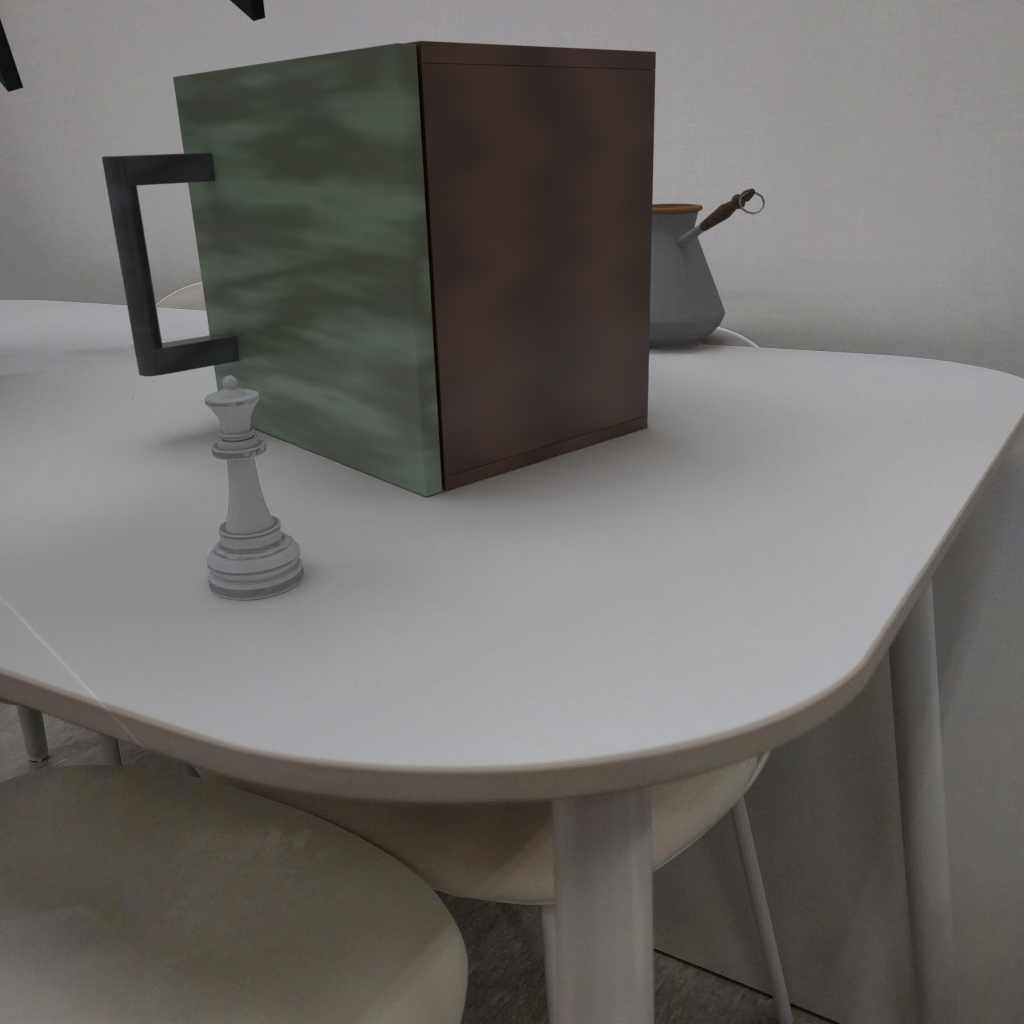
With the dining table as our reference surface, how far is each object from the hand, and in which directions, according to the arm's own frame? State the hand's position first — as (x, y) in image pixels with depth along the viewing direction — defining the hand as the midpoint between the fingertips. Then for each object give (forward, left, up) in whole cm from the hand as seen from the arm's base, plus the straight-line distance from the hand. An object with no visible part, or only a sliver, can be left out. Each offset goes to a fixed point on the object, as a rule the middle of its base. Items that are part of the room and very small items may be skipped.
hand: (132, 41), depth 51 cm
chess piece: (+17, +1, -25) cm, 30 cm away
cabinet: (-6, +17, -25) cm, 31 cm away
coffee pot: (-18, +46, -25) cm, 56 cm away
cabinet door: (-2, +5, -25) cm, 25 cm away
